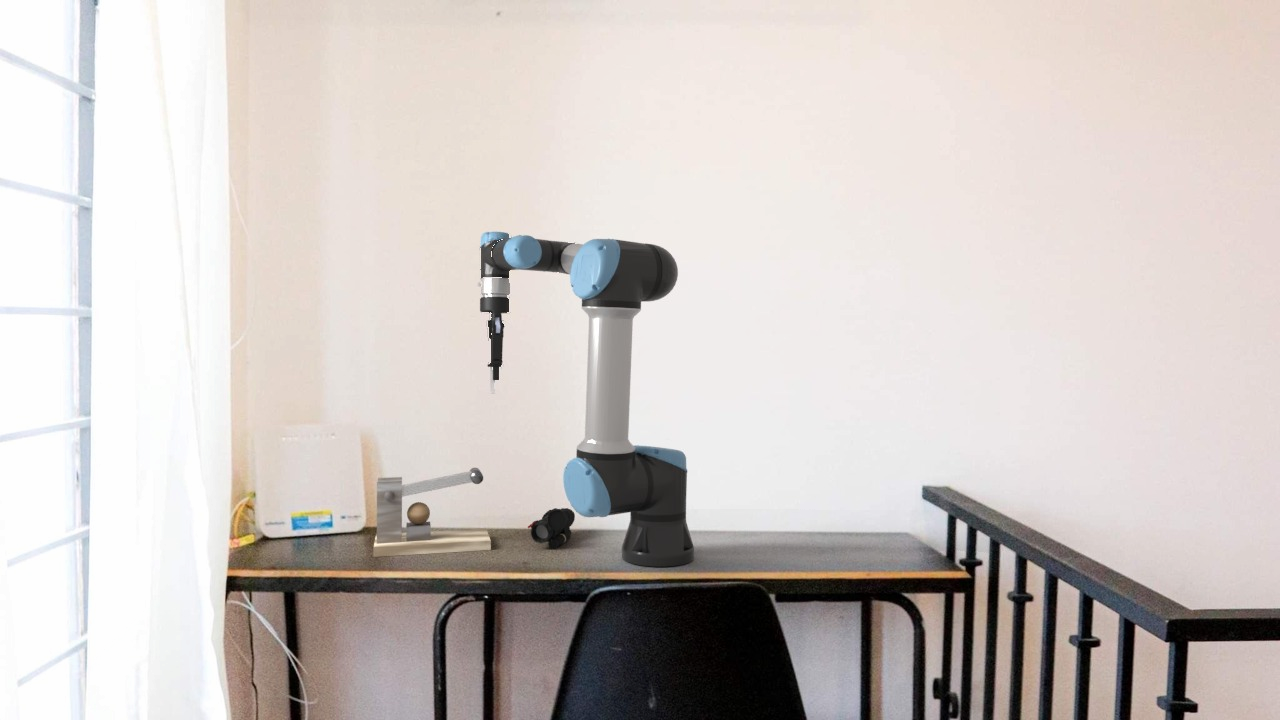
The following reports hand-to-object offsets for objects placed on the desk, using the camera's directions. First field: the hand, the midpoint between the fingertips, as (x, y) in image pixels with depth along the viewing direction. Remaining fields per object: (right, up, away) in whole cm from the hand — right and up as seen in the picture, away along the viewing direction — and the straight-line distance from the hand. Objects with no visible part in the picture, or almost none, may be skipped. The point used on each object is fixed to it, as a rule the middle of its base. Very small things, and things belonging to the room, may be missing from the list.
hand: (495, 393), depth 195 cm
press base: (-10, -33, -20) cm, 40 cm away
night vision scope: (+16, -33, -15) cm, 39 cm away
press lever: (-9, -20, -20) cm, 30 cm away
